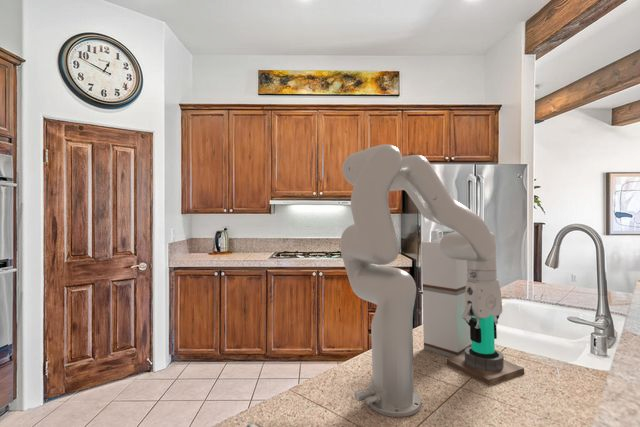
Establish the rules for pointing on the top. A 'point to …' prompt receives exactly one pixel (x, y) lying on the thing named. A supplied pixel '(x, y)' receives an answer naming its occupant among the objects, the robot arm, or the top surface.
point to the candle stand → (485, 366)
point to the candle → (485, 336)
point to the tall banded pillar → (444, 302)
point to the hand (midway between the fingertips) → (483, 338)
